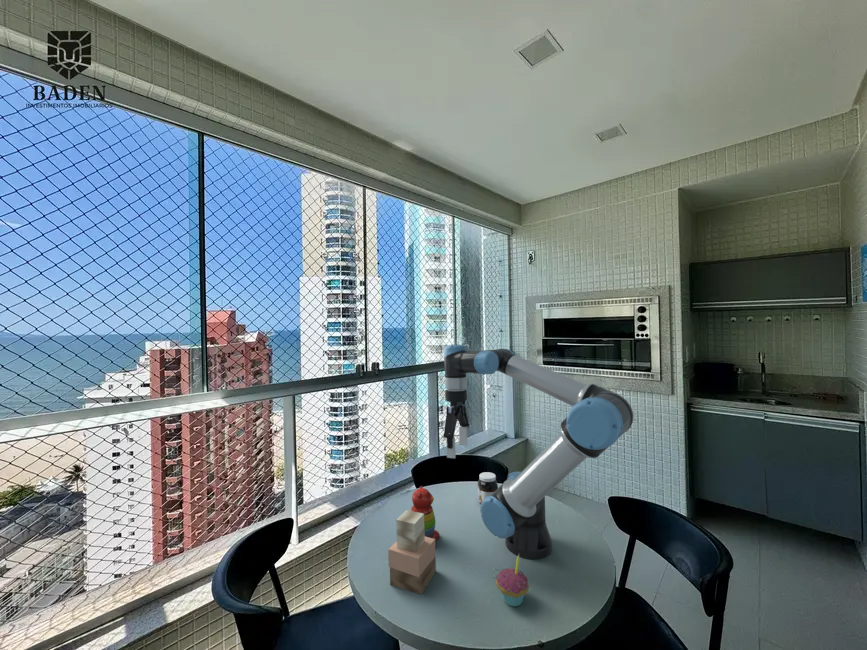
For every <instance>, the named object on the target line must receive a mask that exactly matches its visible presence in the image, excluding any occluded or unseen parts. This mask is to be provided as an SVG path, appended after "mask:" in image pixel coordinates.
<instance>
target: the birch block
mask: <svg viewBox="0 0 867 650" xmlns="http://www.w3.org/2000/svg"><path fill="white" fill-rule="evenodd" d="M395 521H396V541H397V548H399V549H403V550H407V551H410V552H414V553H416V551H417V550H418V549H419V548H420V546H421V545H422V544H423V543H424V541H425V531H424V514H423V513H418V512H414V511H410V510H408V509H406V510H405V511H404V512H403V513H402V514H400V515H399V517H397V518H396V520H395Z"/></svg>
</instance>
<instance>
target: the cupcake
mask: <svg viewBox="0 0 867 650" xmlns="http://www.w3.org/2000/svg"><path fill="white" fill-rule="evenodd" d="M515 562H516V564H515V567H510V568H509V567H508V568H503V569H502V570H499V572H498V574H497V575H496V580H495V586H496V587H497V589H498V590H499V591H500V593H501V595H502V596H503V600H504V603H506V604H507V605H508V606H511V607H518V606H520V605H522V603H523V599H524V597H525V595H527V594H528V592H529V589H530V588H529V587H530V583H529V579H528V576H527V575H526V574H525V573H524V572H522V571H521V570H519V565H520V556H519V555H516V561H515Z"/></svg>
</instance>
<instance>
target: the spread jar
mask: <svg viewBox="0 0 867 650" xmlns="http://www.w3.org/2000/svg"><path fill="white" fill-rule="evenodd" d="M496 479H497V476H496V474H495V473H493V472H489V471H487V472H485V471H484V472H481V473H480V474H479V479H478V481H477V497H478V502H479V504H480V505H481V504H482V502H483V500H484V499H485V498H486V497H487V496H490V495H492V494H493V493H494V492H495V491H496V490H497V489H498V488H499V485H498V482H497V480H496Z"/></svg>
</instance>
